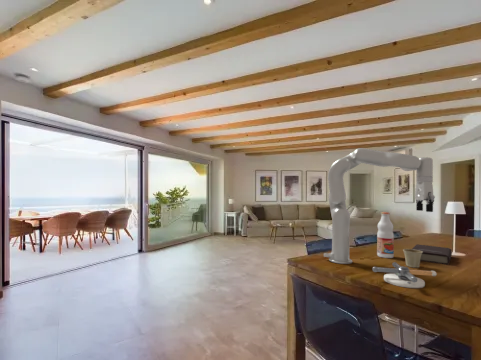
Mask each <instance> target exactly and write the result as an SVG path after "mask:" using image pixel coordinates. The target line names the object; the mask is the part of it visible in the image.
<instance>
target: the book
mask: <svg viewBox="0 0 481 360" xmlns="http://www.w3.org/2000/svg"><path fill="white" fill-rule="evenodd" d="M411 249H414V250H420V251H422V252H423V253H422V255H421V259H420V262H425V263H430V264H431V263H432V264H438V265H444V266H445V265H446V266H449V265H450V262H451V259H452V255H453V251H452V249H451V248H450V247H445V246H444V247H443V246H434V245H427V244H415V245H414V246H413V247H412V248H411Z"/></svg>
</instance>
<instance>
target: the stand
mask: <svg viewBox="0 0 481 360" xmlns="http://www.w3.org/2000/svg"><path fill="white" fill-rule="evenodd" d="M415 277H416V278H417V282H412V281H411V280H403V279H400V278H398V273H386V274H385V273H384V275H383V281H384V282H385V283H388V284H390V285H393V286H395V287H396V286H397V287H402V288H408V289H423V288H424V287H425V285H426V282H425V280H423V279H422V278H420V277H417V276H415Z"/></svg>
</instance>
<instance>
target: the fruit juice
mask: <svg viewBox="0 0 481 360" xmlns="http://www.w3.org/2000/svg"><path fill="white" fill-rule="evenodd" d="M390 214H391V212H389V211H387V212H386V211H382V212H381V211H380V215H381V216H380V220H379V222H378V223H377V229H378V230H377V234H376V236H377V237H376V242H377V243H376V244H377V245H376V255H377V257H379V258H385V259H392V258H394V255H395V250H394V249H395V247H394V246H395V242H394V241H395V234H394V231H393V230H394V224H393V222H392V221H391V218H390V216H391V215H390Z"/></svg>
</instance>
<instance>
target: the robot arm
mask: <svg viewBox="0 0 481 360" xmlns="http://www.w3.org/2000/svg"><path fill="white" fill-rule="evenodd" d="M360 164H364V165H372V166H376V167H383V168H384V167H385V168H386V167H394V168H395V167H396V168H400V169H401V170H403V171H405V172H411V171H416V184H415V191H414V199H415V203H416V208H415V209H416V211H421V212H422V211H424V204H423V202H424V201H425V202H426V204H425V212H426V213H432V212H434V202H435V198H436V196H435V195H434V188H433V187H434V185H433V182H434V181H433V180H434V179H433V177H434V175H433V170H434V168H433V167H434V165H433V158H432V157H428V156H427V157H425V156H424V157H418V156H416V155H413V154H412V155H411V154H405V153H398V152H389V151H380V150H374V149H370V148H369V149H368V148H364V147H358V148H356V149H355V150H353V152H350V153H349V154H347V155H345V156H344V157H340V158H338V159H337V160H335V162H333V163H332V164H331V166H330V168H329V170H328V173H327V181H328V189H329V192H328V204H329V210H330V214H331V218H332V221H331V224H332V225H331V251H330V252H329V253H325V252H324V253H323V257H324V258H325V257H326V258H328V260H329V261H330V262H331V263H336V264H343V265H348V264H352V263H353V260H352V259H351V258H350V224H351V214H350V211H349V210H348V209H347V204H346V200H347V195H346V189H345V182H344V175H345V173H347V172H349V171H350V170H353V169H354V168H356V167H358V166H359V165H360Z"/></svg>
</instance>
